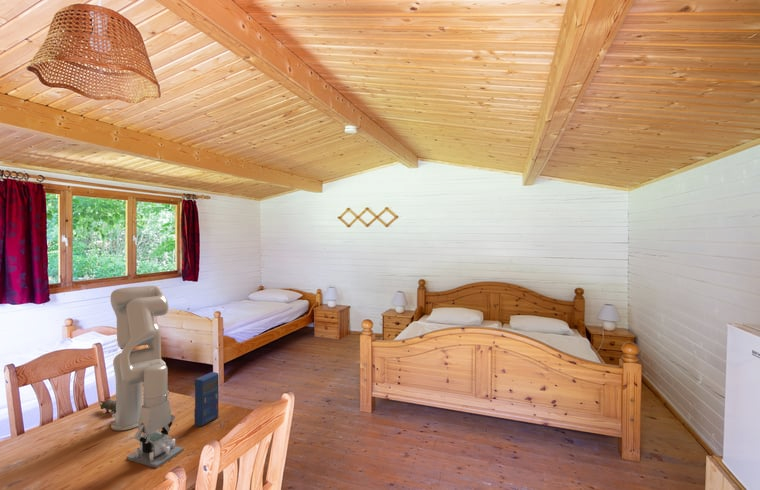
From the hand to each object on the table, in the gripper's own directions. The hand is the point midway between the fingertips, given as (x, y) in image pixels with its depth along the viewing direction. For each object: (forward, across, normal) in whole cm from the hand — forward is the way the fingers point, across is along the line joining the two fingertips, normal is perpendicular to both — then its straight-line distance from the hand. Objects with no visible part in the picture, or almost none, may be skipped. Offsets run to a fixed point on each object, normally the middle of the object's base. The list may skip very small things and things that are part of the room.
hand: (155, 446), depth 131 cm
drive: (+1, 0, 0) cm, 1 cm away
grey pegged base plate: (+3, 0, 0) cm, 3 cm away
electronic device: (+3, -26, -2) cm, 26 cm away
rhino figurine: (+4, -17, -51) cm, 54 cm away
